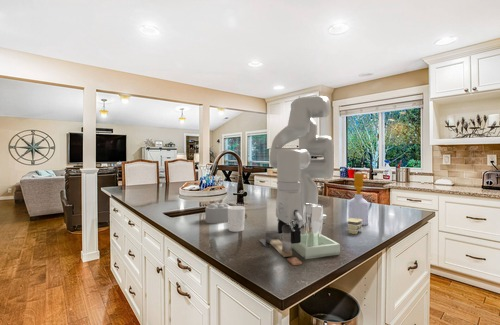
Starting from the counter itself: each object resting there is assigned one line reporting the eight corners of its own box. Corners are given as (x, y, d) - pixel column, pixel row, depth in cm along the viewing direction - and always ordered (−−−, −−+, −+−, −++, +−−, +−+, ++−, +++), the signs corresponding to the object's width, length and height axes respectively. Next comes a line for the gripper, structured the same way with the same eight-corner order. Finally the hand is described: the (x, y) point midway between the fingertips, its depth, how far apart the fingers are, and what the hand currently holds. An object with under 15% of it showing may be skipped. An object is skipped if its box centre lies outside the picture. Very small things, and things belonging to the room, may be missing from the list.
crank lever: (263, 239, 98) (263, 213, 98) (275, 238, 100) (275, 212, 99) (281, 258, 81) (281, 226, 81) (295, 256, 82) (296, 225, 82)
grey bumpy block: (233, 221, 127) (233, 204, 127) (209, 224, 121) (209, 206, 121) (226, 216, 136) (226, 200, 136) (202, 219, 130) (202, 203, 130)
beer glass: (312, 251, 85) (312, 207, 85) (298, 245, 92) (299, 204, 91) (327, 248, 89) (327, 205, 88) (313, 242, 95) (313, 202, 94)
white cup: (242, 232, 108) (242, 209, 108) (225, 231, 110) (225, 208, 110) (246, 227, 116) (246, 206, 116) (230, 226, 118) (230, 205, 117)
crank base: (277, 238, 102) (277, 236, 102) (309, 263, 78) (309, 261, 78) (258, 240, 99) (258, 238, 99) (285, 266, 76) (285, 264, 76)
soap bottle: (348, 224, 122) (348, 173, 121) (348, 219, 130) (349, 172, 129) (368, 226, 118) (369, 174, 118) (367, 221, 127) (368, 172, 126)
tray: (318, 241, 98) (318, 232, 98) (339, 254, 85) (339, 244, 85) (287, 245, 94) (287, 235, 94) (305, 259, 81) (305, 248, 81)
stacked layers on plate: (364, 237, 104) (364, 224, 104) (341, 233, 108) (341, 221, 108) (367, 231, 112) (367, 218, 112) (345, 228, 117) (346, 216, 117)
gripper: (268, 183, 90) (268, 230, 91) (290, 191, 73) (290, 249, 74) (287, 182, 92) (287, 228, 93) (312, 190, 76) (312, 246, 77)
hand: (288, 237), depth 84 cm, fingers open, 9 cm apart
